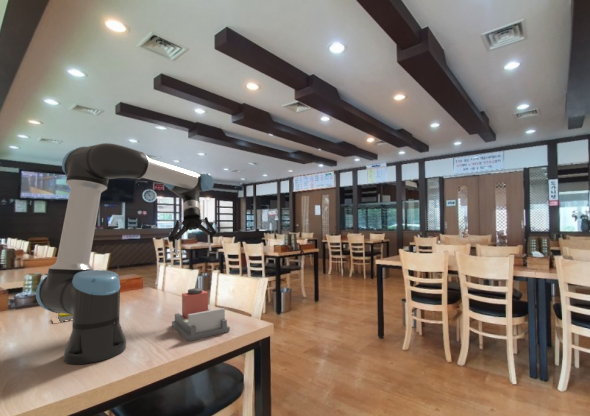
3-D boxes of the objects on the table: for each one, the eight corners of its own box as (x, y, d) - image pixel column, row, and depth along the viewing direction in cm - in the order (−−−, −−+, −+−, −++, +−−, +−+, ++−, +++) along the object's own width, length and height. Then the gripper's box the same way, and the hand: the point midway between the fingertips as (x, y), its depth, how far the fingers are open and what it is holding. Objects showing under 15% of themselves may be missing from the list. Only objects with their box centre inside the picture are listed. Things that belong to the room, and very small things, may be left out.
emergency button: (98, 306, 129) (52, 313, 119) (98, 317, 129) (52, 325, 119) (94, 302, 136) (51, 309, 126) (94, 312, 136) (51, 320, 126)
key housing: (188, 341, 97) (187, 317, 98) (171, 325, 114) (171, 304, 114) (229, 331, 106) (229, 309, 106) (208, 317, 122) (208, 298, 122)
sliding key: (186, 324, 109) (185, 292, 110) (182, 321, 113) (182, 290, 114) (208, 319, 114) (207, 289, 115) (203, 316, 118) (203, 287, 119)
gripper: (220, 213, 148) (224, 251, 136) (165, 220, 143) (164, 260, 131) (218, 203, 143) (222, 242, 130) (161, 210, 137) (160, 251, 125)
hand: (193, 251), depth 131 cm, fingers open, 13 cm apart
